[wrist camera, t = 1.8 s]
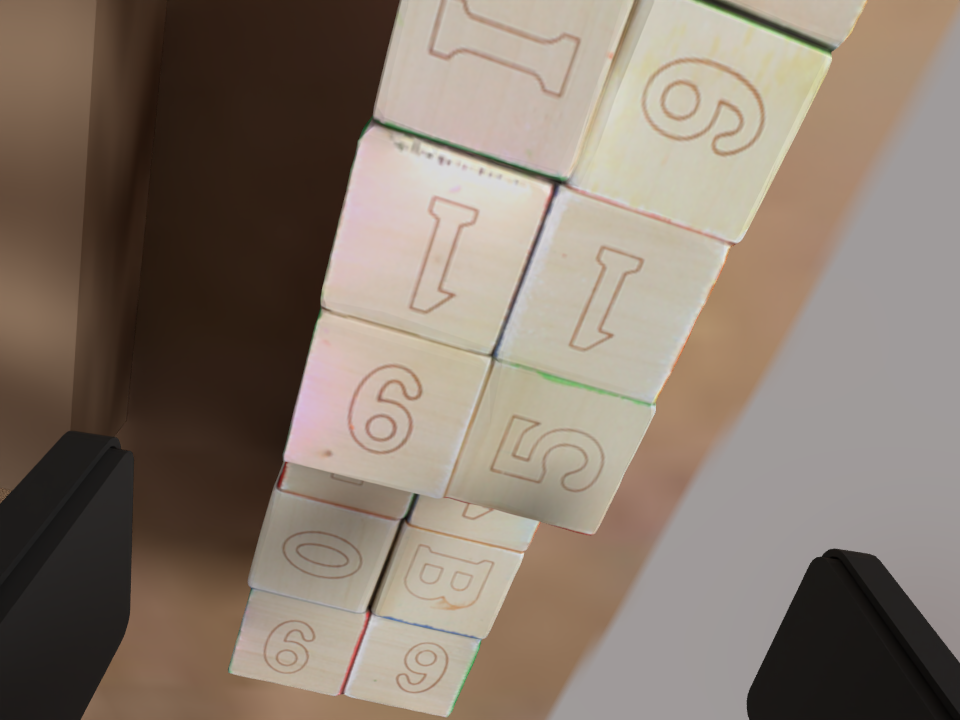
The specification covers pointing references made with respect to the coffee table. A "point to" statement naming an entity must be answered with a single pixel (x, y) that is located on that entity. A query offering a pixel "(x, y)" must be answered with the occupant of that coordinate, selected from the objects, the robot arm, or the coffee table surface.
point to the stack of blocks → (508, 310)
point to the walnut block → (71, 214)
